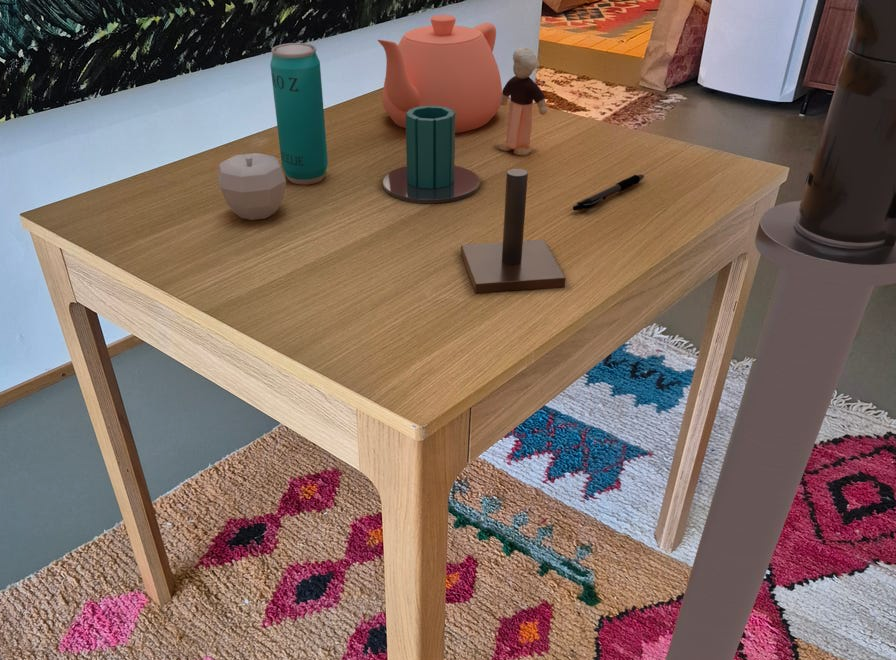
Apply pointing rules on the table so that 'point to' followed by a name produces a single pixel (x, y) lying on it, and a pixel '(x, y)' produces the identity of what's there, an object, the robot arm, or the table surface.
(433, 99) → the teapot
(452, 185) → the slate coaster
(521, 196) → the holder
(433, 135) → the teal octagonal tube
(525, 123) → the grandmother figurine
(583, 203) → the pen
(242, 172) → the apple
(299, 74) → the beverage can
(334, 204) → the table surface
